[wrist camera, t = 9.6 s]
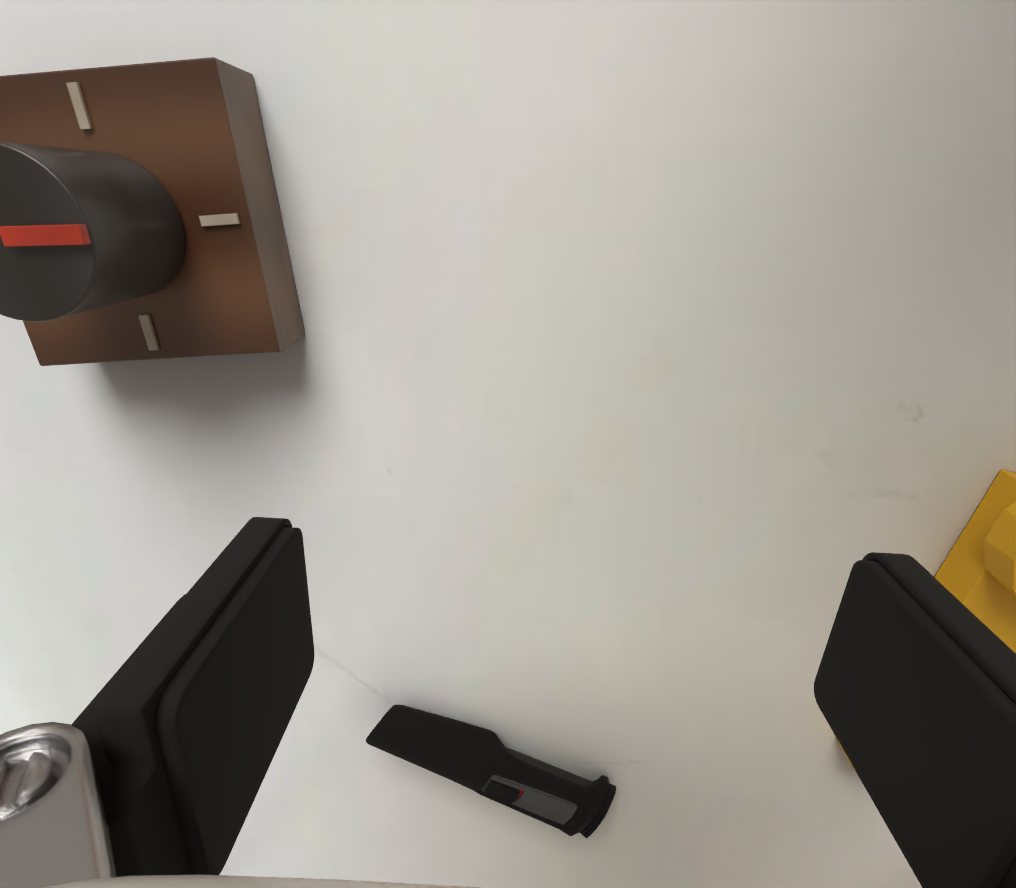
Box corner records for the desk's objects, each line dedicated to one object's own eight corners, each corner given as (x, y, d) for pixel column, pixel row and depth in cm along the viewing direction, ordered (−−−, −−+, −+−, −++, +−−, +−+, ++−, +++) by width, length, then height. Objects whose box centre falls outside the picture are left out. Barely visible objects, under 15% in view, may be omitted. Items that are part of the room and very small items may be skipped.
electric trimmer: (394, 673, 34) (380, 718, 31) (619, 775, 36) (626, 826, 34) (367, 715, 35) (352, 761, 32) (586, 810, 38) (590, 862, 35)
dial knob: (72, 297, 23) (-51, 326, 18) (28, 153, 21) (-125, 141, 16) (199, 295, 23) (109, 322, 18) (166, 149, 21) (55, 135, 16)
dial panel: (1, 95, 23) (-75, 80, 20) (253, 73, 22) (212, 55, 19) (90, 348, 27) (36, 367, 24) (306, 335, 26) (278, 352, 23)
